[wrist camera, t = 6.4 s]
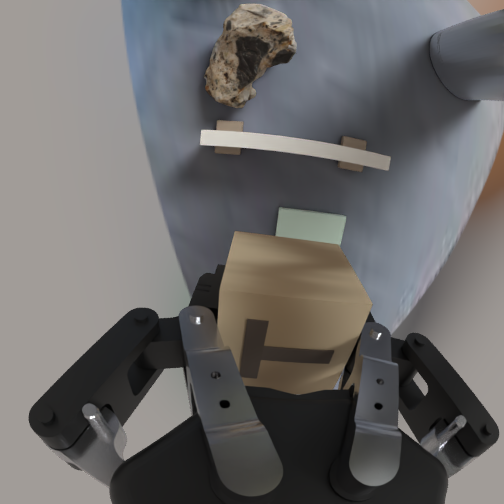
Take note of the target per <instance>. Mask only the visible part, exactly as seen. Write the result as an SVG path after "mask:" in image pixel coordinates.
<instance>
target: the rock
mask: <svg viewBox="0 0 504 504" xmlns="http://www.w3.org/2000/svg"><path fill="white" fill-rule="evenodd" d="M223 28H224V30H223V33H222V35H221V36H220V37H219V39H218V41H217V42H216V44H215V46H214V48H213V51H212V55H211V58H210V66H209V67H208V68H207V71H206V73H205V75H204V78H205V79H206V86H205V89H206V91H207V92H208V94H209V95H210V96H212V97H213V98H214V99H215V101H217V102H219V103H222V104H225V105H227V106H231V107H235V108H243V106H244V105H245V103H246V101H247V100H250V99H252V98H254V97H255V96H256V90H255V89H253V88H252V83H253V81H255V80H256V79H257V78H260V77H261V76H262V75H263V74H264V72H265V71H266V68H268V67H272V66H274V65H278V64H281V63H288V62H289V61H290V60H291V59H292V57H293V55H294V54H295V53H296V45H297V43H296V42H295V40H294V35H293V30H294V29H293V28H292V21H291V19H289V18H288V17H287V16H286V15H285V14H283V13H282V12H279V11H277V10H275V9H272V8H269V7H267V6H265V5H262V4H241V5H239V8H237V9H236V10H235V11H234V12H233V13H232V14H231V15H230V16H229V17H228V18H227V19H226V20H225V21H224V24H223Z"/></svg>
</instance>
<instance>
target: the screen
mask: <svg viewBox="0 0 504 504" xmlns="http://www.w3.org/2000/svg"><path fill="white" fill-rule="evenodd" d="M366 144H367V141H364V140H360V139H355V138H351V137H346V136H342V139H341V145H336V144H330V143H325V142H319V141H313V140H306V139H300V138H293V137H285V136H277V135H268V134H259V133H248V132H243V122H238V121H222V120H217V128H216V130H201V140H200V145H210V146H215V153H221V154H235V155H240V154H241V148H252V149H262V150H271V151H280V152H288V153H295V154H302V155H309V156H315V157H322V158H327V159H333V160H338V167H339V168H343V169H348V170H353V171H359V172H362V170H363V165H364V166H369V167H373V168H378V169H382V170H386V171H389V165H390V159H391V157H389V156H385V155H381V154H377V153H373V152H369V151H366Z"/></svg>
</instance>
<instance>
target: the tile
mask: <svg viewBox="0 0 504 504" xmlns="http://www.w3.org/2000/svg"><path fill="white" fill-rule="evenodd" d="M345 222H346V216H345V215H338V214H331V213H324V212H316V211H308V210H300V209H292V208H284V207H279V211H278V219H277V226H276V234H275V236H279V237H287V238H295V239H302V240H310V241H317V242H325V243H332V244H338V245H339V246H340V244H341V240H342V236H343V231H344V226H345Z"/></svg>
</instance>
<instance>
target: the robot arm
mask: <svg viewBox="0 0 504 504" xmlns="http://www.w3.org/2000/svg"><path fill="white" fill-rule="evenodd" d="M429 50H430V57H431V61H432V64H433V67H434V69H435V71H436V73H437V75H438V77H439V79H440V80H441V81H442V83H443V84H444V86H445V87H446V88H447V89H448V90H449V91H450V92H451V93H453V94H454V95H455V96H457V97H459V98H461V99H464V100H495V101H504V9H503V10H499V11H496V12H492V13H489V14H485V15H482V16H479V17H476V18H473V19H470V20H467V21H464V22H462V23H459V24H456V25H454V26H451V27H449V28H446V29H444V30H441V31H439V32H437V33H435V34H434V35H433V37H432V38H431V41H430V48H429ZM225 267H226V265H219V264H218V266H217V269H216V272H215V274H211V273H205V274H204V275H203V276H201V277H200V278H199V281H198V283H197V286H196V288H195V291H194V293H193V296H192V298H191V301H190V304H189V306H188V307H186V308H184V309H182V310H181V312H180V313H179V316H177V317H173V318H160V319H159V317H158V314H157V313H156V312H155V311H154V310H152V309H149V308H136V309H133V310H131V311H129V312H128V313H127V314H126V315H125V316H123V318H121V319H120V320H119V321H118V322H117V323H116V324H115V325H114V326H113V327H112V328H111V329H110V330H109V331H108V332H106V333H105V334H104V335H103V336H102V337H101V338H100V339H99V340H98V341H97V342H96V343H95V344H94V345H93V346H92V347H91V348H90V349H89V350H88V351H87V352H86V353H85V354H83V356H81V357H80V358H79V360H77V362H75V363H74V364H73V365H72V366H71V367H70V368H69V369H68V370H67V371H66V372H65V373H64V374H63V375H62V376H61V377H60V378H59V379H58V380H57V381H56V382H55V383H54V385H53V386H52V387H50V389H49V390H48V391H47V392H46V393H45V394H44V395H43V396H42V397H41V398H40V399H39V400H38V401H37V402H36V403H35V404H34V405H33V407H32V408H31V410H30V413H29V423H30V426H31V428H32V429H33V430H34V432H35V433H36V434H37V435H38V436H39V437H40V438H41V439H42V440H43V442H44V443H45V444H46V445H47V446H48V447H49V448H50V449H51V450H52V451H53V452H54V453H55V454H56V455H57V456H58V457H60V458H61V459H62V460H64V461H65V462H66V463H68V464H69V465H70V466H71V467H73V468H74V469H77V470H81V471H84V472H85V473H87V474H88V475H90V476H91V477H93V478H94V479H96V480H97V481H99V482H100V483H102V484H103V485H105V486H106V487H108V488H109V489H110V498H111V501H112V504H445V497H446V493H447V488H448V478H449V477H451V476H452V475H454V474H455V473H457V472H458V471H460V470H461V469H463V468H464V467H465V466H467V465H468V464H470V463H471V462H472V461H473V460H475V459H476V458H477V457H479V456H480V455H481V454H482V453H484V452H485V451H486V450H487V449H489V448H490V447H491V446H492V445H493V444H494V443H496V441H497V440H498V437H499V429H498V426H497V424H496V423H495V421H494V420H493V418H492V417H491V416H490V414H489V413H488V412H487V410H486V409H485V408H484V406H483V405H482V404H481V402H480V401H479V400H478V398H477V397H476V396H475V394H474V393H473V392H472V391H471V390H470V388H469V387H468V386H467V384H466V383H465V382H464V381H463V379H462V378H461V377H460V376H459V374H458V373H457V372H456V371H455V370H454V369H453V367H452V366H451V365H450V364H449V363H448V361H447V360H446V359H445V358H444V357H443V355H442V354H441V353H440V352H439V351H438V350H437V348H436V347H435V346H434V345H433V344H432V343H431V342H430V341H429V340H428V338H426V337H425V336H423V335H421V334H418V333H410V334H409V335H408V336H407V338H406V340H405V341H404V340H400V339H395V338H392V337H391V334H390V332H389V330H388V329H387V328H386V327H385V326H383V325H381V324H379V323H376V322H375V320H374V318H373V316H372V314H371V312H369V315H368V317H367V319H366V322H365V324H364V326H363V329H362V331H361V333H360V336H359V338H358V340H357V342H356V344H355V346H354V349H353V351H352V353H351V355H350V357H349V359H348V361H347V363H346V365H345V367H344V369H343V371H342V373H341V378H340V382H339V387H338V390H321V391H316V392H311V393H306V394H301V395H295V394H291V393H287V392H283V391H279V390H275V389H272V388H266V387H254V386H245V385H244V383H243V380H242V378H241V375H240V373H239V370H238V367H237V365H236V362H235V359H234V357H233V354H232V351H231V349H230V347H229V346H224V344H223V341H222V338H221V335H220V332H219V329H218V326H217V323H218V306H219V291H220V286H221V282H222V278H223V274H224V270H225ZM180 367H183V372H184V378H185V383H186V387H187V392H188V398H189V404H190V409H191V415H192V416H191V417H189V418H188V419H187V420H185V421H184V422H183V423H181V424H180V425H178V426H177V427H176V428H174V429H173V430H171V431H170V432H169V433H167V434H166V435H164V436H163V437H161V438H160V439H158V440H157V441H155V442H154V443H152V444H151V445H149V446H148V447H146V448H145V449H143V450H142V451H140V452H138V453H137V454H135V455H134V456H132V457H131V458H129V459H127V460H126V461H124V459H123V451H124V448H125V446H126V442H127V436H126V433H125V431H124V429H123V428H122V427H123V425H124V423H125V422H126V421H127V420H128V418H129V417H130V415H131V414H132V413H133V411H134V410H135V409H136V407H137V406H138V404H139V403H140V402H141V400H142V399H143V398H144V396H145V395H146V393H147V392H148V391H149V389H150V388H151V387H152V385H153V384H154V383H155V381H156V380H157V378H158V377H159V376H160V374H161V373H162V372H163V370H164V369H165V368H180ZM417 372H419V374H420V375H421V376H422V378H423V379H424V380H425V382H426V383H427V385H428V393H427V394H426V396H424V395H423V393H422V392H421V390H420V389H419V387H418V386H417V385H416V383H415V382H414V381H413V378H414V376H415V375H416V373H417ZM398 409H399V411H400V413H401V414H402V416H403V417H404V419H405V421H406V422H407V424H408V425H409V427H410V429H411V430H412V432H413V433H414V435H415V437H416V438H417V440H418V442H419V443H420V445H419V444H418V443H417V442H415V441H414V440H413V439H412V438H410V437H409V436H408V435H407V434H405V433H404V432H403V431H402V430H401V429H399V428H398Z"/></svg>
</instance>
